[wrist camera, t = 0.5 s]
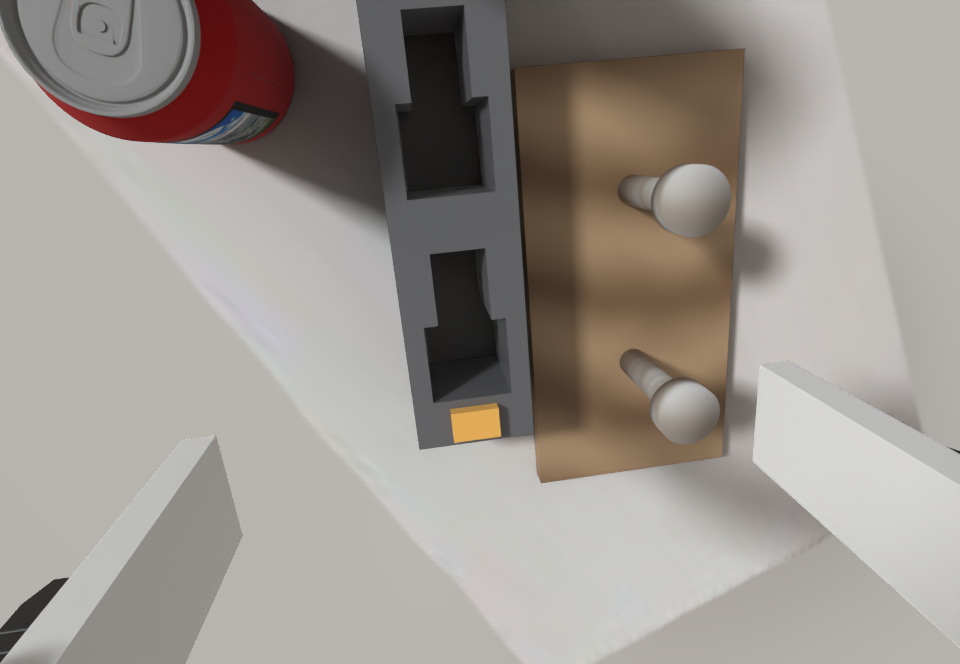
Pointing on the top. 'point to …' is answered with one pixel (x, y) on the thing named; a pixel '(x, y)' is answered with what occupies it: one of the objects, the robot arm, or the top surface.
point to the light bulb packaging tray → (454, 219)
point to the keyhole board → (628, 256)
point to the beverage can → (156, 66)
